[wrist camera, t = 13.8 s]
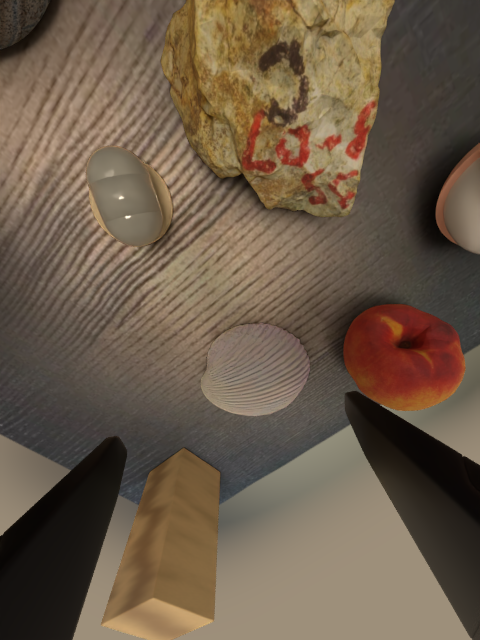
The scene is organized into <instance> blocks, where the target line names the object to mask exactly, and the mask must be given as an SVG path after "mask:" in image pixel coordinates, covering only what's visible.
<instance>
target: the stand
mask: <svg viewBox="0 0 480 640" xmlns="http://www.w3.org/2000/svg"><path fill="white" fill-rule="evenodd" d="M219 491H220V472H219V471H218V470H216V469H215V468H213V467H212V466H210V465H209V464H207V463H206V462H204V461H203V460H201V459H200V458H198V457H197V456H196V455H194V454H193V453H191V452H190V451H188V450H187V449H185V448H183V449H181V450H180V451H178V452H177V453H176V454H174V455H173V456H171V457H170V458H169V459H167V460H166V461H165V462H163V463H162V464H160V465H159V466H158V467H156V468H155V469H153V470H152V471H151V472H150V473H149V476H148V479H147V482H146V485H145V488H144V491H143V495H142V498H141V501H140V504H139V507H138V510H137V513H136V516H135V519H134V523H133V526H132V529H131V532H130V535H129V538H128V542H127V544H126V548H125V551H124V554H123V557H122V560H121V563H120V566H119V570H118V572H117V576H116V579H115V582H114V585H113V588H112V591H111V594H110V597H109V600H108V604H107V607H106V610H105V613H104V616H103V619H102V622H101V626H104V627H107V628H111V629H114V630H117V631H121V632H124V633H128V634H131V635H134V636H137V637H140V638H144V639H147V640H173V639H175V638H177V637H179V636H181V635H184V634H186V633H188V632H191V631H193V630H195V629H198V628H200V627H202V626H205V625H207V624H209V623H211V622H213V621H214V609H215V587H216V562H217V538H218V515H219Z"/></svg>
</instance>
